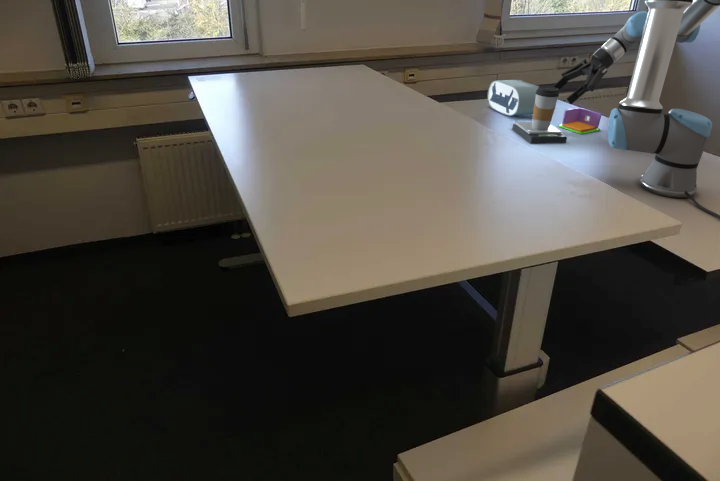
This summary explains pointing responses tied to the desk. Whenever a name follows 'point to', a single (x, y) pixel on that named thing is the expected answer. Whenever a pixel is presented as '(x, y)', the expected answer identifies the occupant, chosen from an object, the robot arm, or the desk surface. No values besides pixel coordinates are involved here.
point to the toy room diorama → (581, 120)
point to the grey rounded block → (512, 97)
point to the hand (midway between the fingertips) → (559, 96)
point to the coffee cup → (544, 107)
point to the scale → (538, 133)
